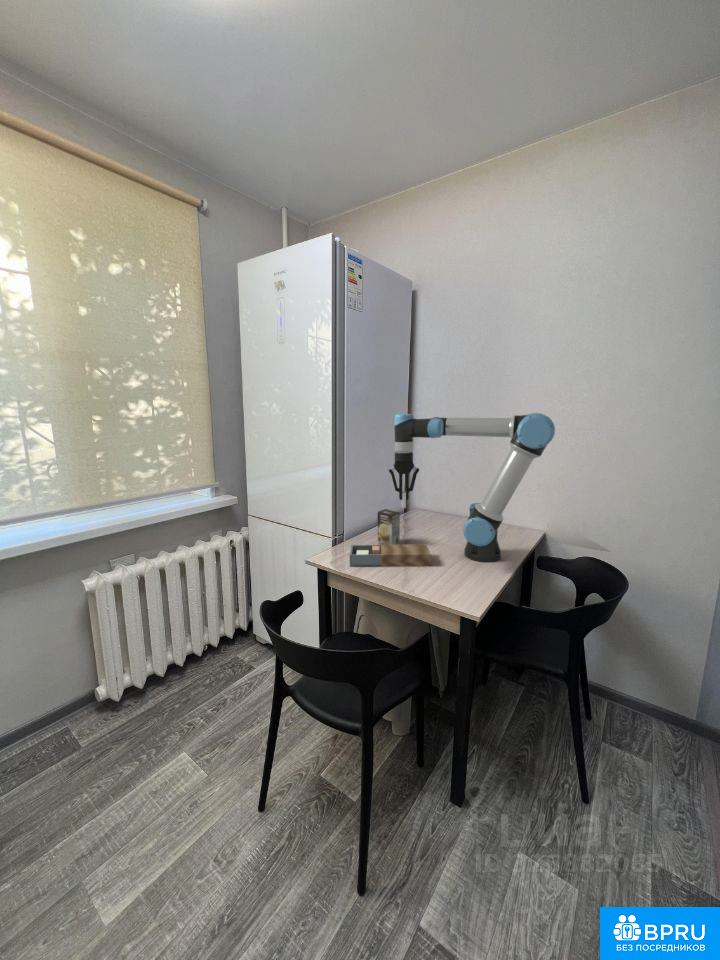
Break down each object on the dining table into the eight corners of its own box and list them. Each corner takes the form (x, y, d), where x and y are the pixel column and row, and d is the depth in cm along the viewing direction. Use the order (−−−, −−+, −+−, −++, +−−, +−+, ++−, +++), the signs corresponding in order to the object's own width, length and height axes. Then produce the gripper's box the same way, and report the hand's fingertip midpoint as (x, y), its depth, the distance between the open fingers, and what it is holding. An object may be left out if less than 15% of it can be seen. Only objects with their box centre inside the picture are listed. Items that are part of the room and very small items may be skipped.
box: (380, 555, 170) (380, 544, 169) (381, 566, 158) (381, 555, 157) (351, 555, 170) (351, 545, 169) (349, 566, 158) (349, 555, 157)
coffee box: (377, 544, 184) (376, 511, 181) (385, 540, 189) (385, 508, 186) (392, 548, 178) (391, 514, 175) (400, 544, 182) (400, 511, 180)
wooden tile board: (426, 555, 169) (426, 544, 168) (430, 566, 157) (430, 554, 156) (380, 555, 170) (380, 544, 169) (381, 566, 158) (381, 555, 157)
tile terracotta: (379, 545, 165) (372, 545, 165) (379, 550, 160) (372, 550, 160) (379, 556, 166) (372, 556, 166) (379, 561, 161) (372, 561, 161)
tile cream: (357, 550, 166) (357, 556, 167) (356, 554, 161) (356, 561, 162) (368, 550, 166) (368, 556, 166) (368, 554, 161) (368, 561, 162)
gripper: (418, 450, 162) (418, 504, 167) (387, 451, 163) (388, 505, 167) (420, 452, 155) (420, 509, 159) (388, 453, 155) (388, 509, 160)
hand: (403, 507), depth 163 cm, fingers closed
